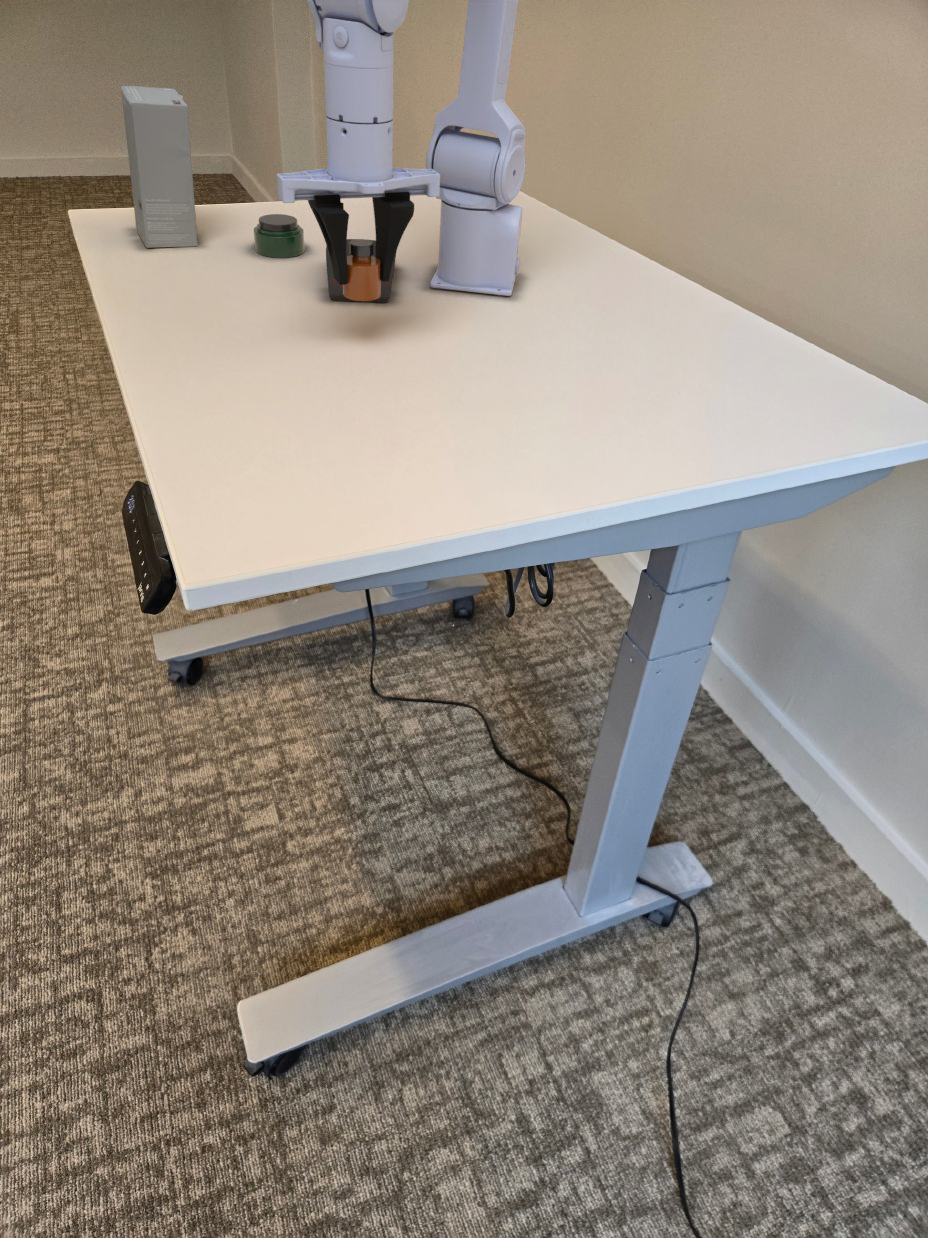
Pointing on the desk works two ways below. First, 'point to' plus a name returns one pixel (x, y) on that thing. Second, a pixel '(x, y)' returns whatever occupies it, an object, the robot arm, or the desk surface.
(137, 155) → the cosmetic box
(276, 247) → the green jar with lid
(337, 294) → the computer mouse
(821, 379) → the desk surface
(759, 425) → the desk surface
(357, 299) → the amber bottle
